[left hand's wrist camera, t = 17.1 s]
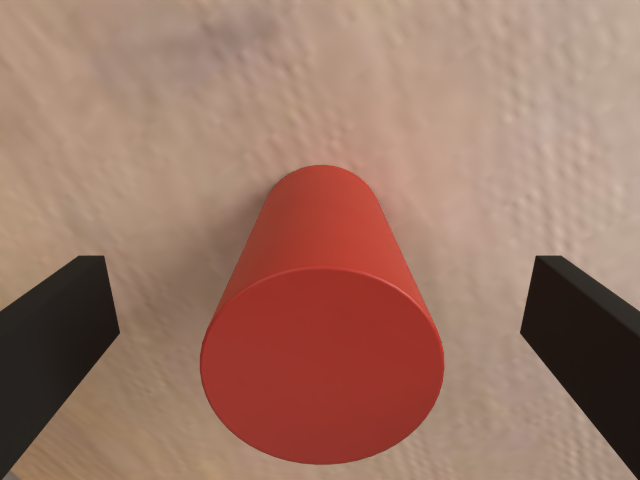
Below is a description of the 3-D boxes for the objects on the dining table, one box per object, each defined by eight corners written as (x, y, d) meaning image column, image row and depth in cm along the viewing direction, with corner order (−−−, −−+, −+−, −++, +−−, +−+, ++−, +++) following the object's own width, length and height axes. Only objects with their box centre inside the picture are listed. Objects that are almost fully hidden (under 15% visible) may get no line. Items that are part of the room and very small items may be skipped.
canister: (240, 240, 18) (157, 404, 9) (302, 139, 17) (280, 215, 7) (337, 297, 19) (352, 496, 10) (405, 207, 18) (497, 347, 8)
